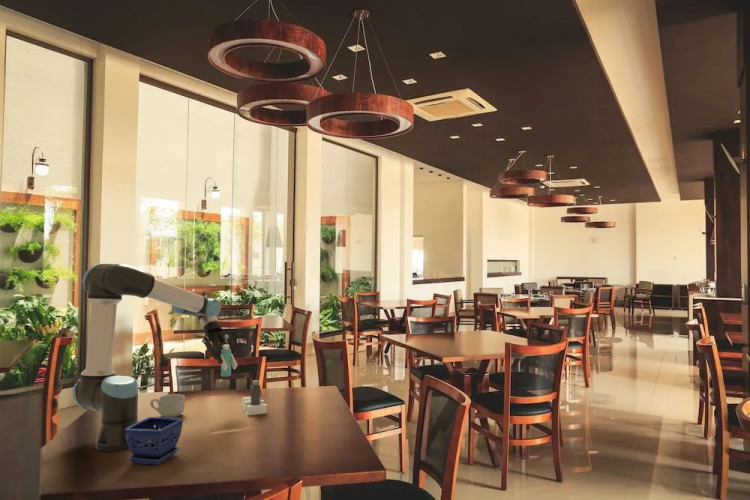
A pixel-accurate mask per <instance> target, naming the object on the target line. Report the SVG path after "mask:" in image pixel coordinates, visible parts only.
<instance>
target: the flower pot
mask: <svg viewBox="0 0 750 500" xmlns="http://www.w3.org/2000/svg"><path fill="white" fill-rule="evenodd" d="M183 423H184V422H183V419H182V418H177V417H174V418H164V417H163V416H148V417H147V418H144V419H142V420H140V421H138V423H136V424H134V425H132V426H130V427H128V428H126V429H125V436H126V441H127V444H128V446H129V449H128V450H130V452H131V454H132V455H130V456H128V458H127V459H128V460H129V461H130V462H131V463H134V464H142V465H151V464H152V466H158V465H160V464H162V463H164V462H166V461H167V460H168V459H170V458H172V457H173V456H174V455H175V454H177V452H178V451H179V448H180V447H176V446H177V445H178V442H179V439H180V437H181V434H182V429H183ZM137 440H138V441H137Z"/></svg>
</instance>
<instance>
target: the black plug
mask: <svg viewBox="0 0 750 500" xmlns="http://www.w3.org/2000/svg"><path fill="white" fill-rule="evenodd" d="M260 396H261V384H260V380H258V379H257V380H256V379H255V380H254V379H253V380H252V385H251V384H250V397H251V405H260Z"/></svg>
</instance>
